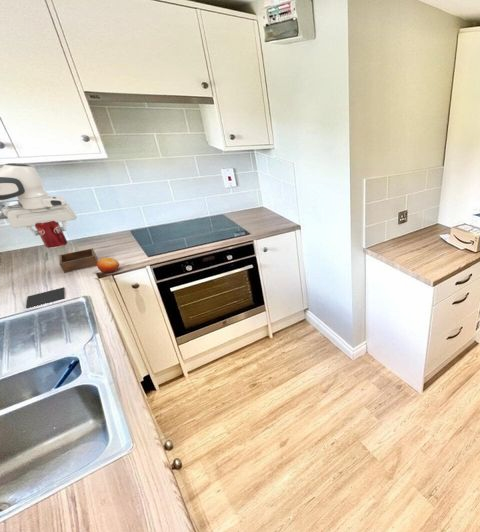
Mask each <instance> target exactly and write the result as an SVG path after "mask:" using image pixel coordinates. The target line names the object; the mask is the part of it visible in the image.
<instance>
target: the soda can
mask: <svg viewBox="0 0 480 532" xmlns="http://www.w3.org/2000/svg"><path fill="white" fill-rule="evenodd" d="M34 227H35V229H36V231H38V233H39V235H38V236H39V237H40V239H41V242H42V243H43V245H44V247H45V248H47V249H58V248H61V247H65V246H66V245H68V240H67V238H66V236H65V234H64V231H61V227H62V226H60V222H55V221H54V220H53V221H48V222H40V223H36V224H35V226H34Z"/></svg>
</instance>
